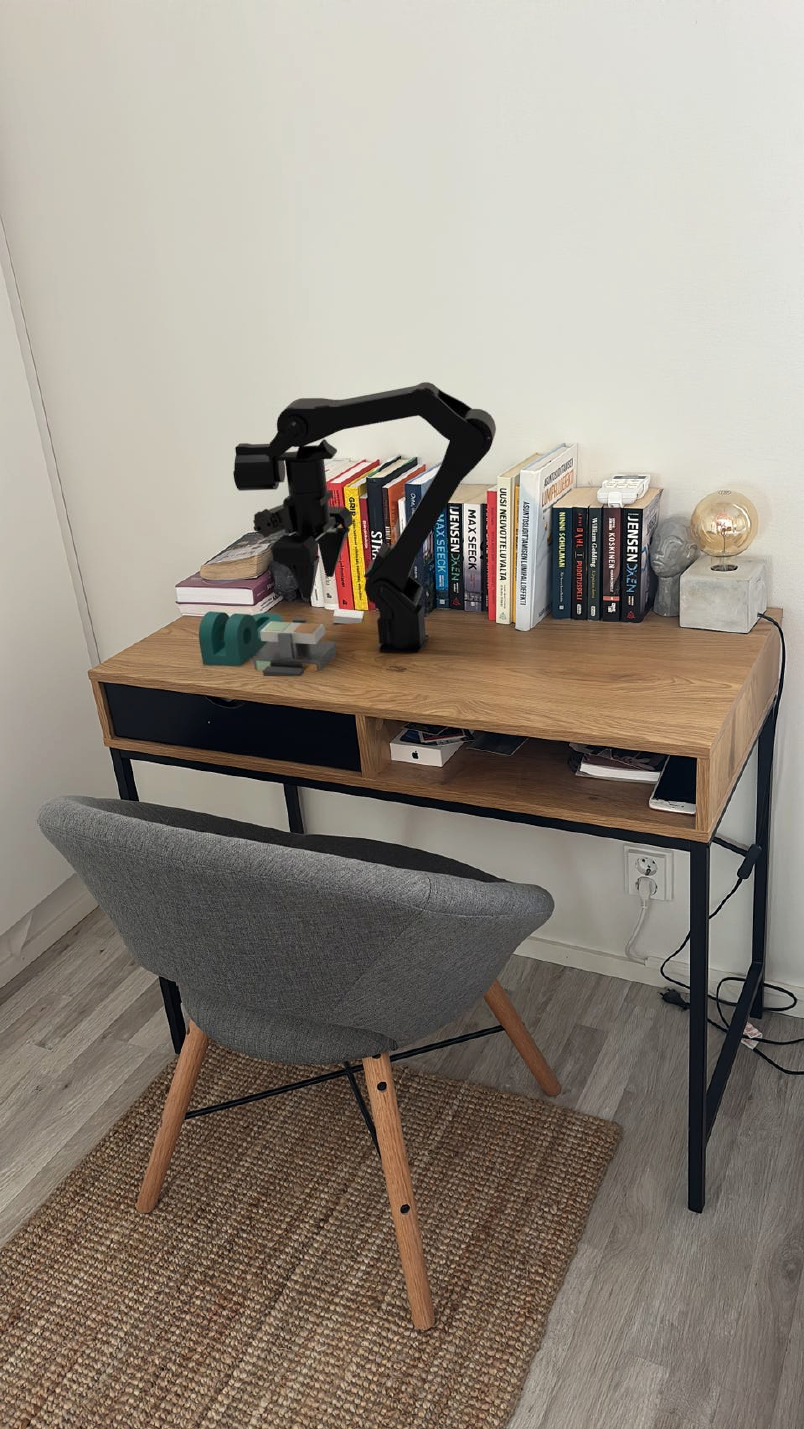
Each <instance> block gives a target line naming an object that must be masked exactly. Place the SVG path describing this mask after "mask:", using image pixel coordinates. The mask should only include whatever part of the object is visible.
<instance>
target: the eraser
mask: <svg viewBox="0 0 804 1429" xmlns="http://www.w3.org/2000/svg"><path fill="white" fill-rule="evenodd" d="M363 619H364V611H363V610H354V609H353V610H352V609H342V608H335V609H334V613H333V615H332V623H334V624H345V625H348V624H359V623H360V624H361V623H362V622H363Z"/></svg>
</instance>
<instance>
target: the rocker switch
mask: <svg viewBox="0 0 804 1429" xmlns="http://www.w3.org/2000/svg"><path fill="white" fill-rule="evenodd" d="M279 633H290V634H292V641H293V643H304V644H317V642H318V641H321V639H322V638H323V637H324V636H325V635H326V628H325V624H324V623H308V622H307V623H293V622H291V621H290V622H288V621H287V622H286V621H283V622H273V621H270V622H269V623H268V624H267V625H266V626H265V627H264V628H263V629H262V630H261V631H260V634H261V641H271V642H278V636H277V635H278V634H279Z"/></svg>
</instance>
